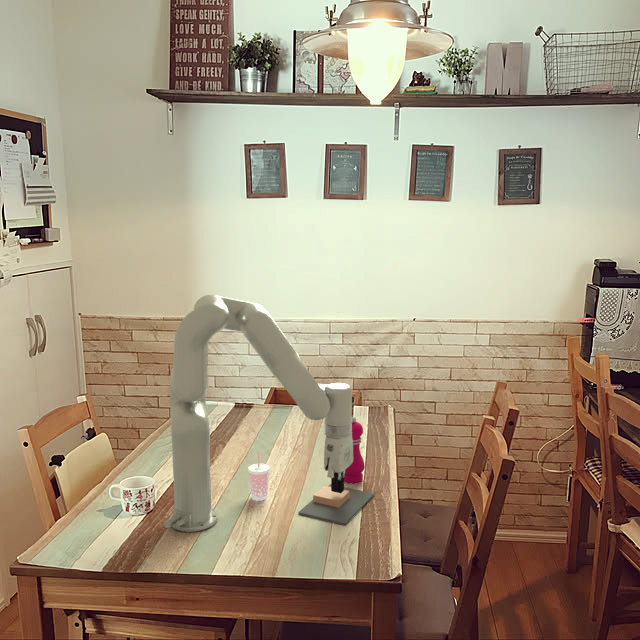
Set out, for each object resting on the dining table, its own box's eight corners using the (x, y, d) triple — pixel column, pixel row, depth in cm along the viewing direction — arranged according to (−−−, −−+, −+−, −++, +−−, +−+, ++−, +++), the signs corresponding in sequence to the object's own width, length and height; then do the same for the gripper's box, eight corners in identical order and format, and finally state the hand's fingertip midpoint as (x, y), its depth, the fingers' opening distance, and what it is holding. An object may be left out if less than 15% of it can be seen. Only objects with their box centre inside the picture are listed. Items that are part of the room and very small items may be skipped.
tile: (338, 501, 181) (349, 491, 188) (313, 495, 185) (324, 485, 191) (338, 507, 182) (349, 497, 188) (313, 501, 185) (324, 492, 192)
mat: (345, 525, 173) (345, 523, 173) (298, 514, 179) (298, 512, 179) (374, 495, 191) (374, 493, 191) (330, 485, 197) (330, 484, 197)
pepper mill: (337, 482, 199) (337, 419, 196) (344, 473, 206) (345, 412, 202) (360, 486, 197) (361, 422, 193) (367, 476, 204) (368, 414, 200)
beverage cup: (265, 503, 186) (264, 456, 183) (245, 500, 188) (244, 453, 185) (273, 494, 192) (272, 448, 189) (253, 491, 193) (252, 445, 191)
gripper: (338, 439, 173) (338, 504, 176) (361, 422, 186) (360, 483, 189) (313, 434, 176) (313, 499, 180) (337, 418, 189) (336, 478, 193)
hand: (337, 491), depth 184 cm, fingers closed
